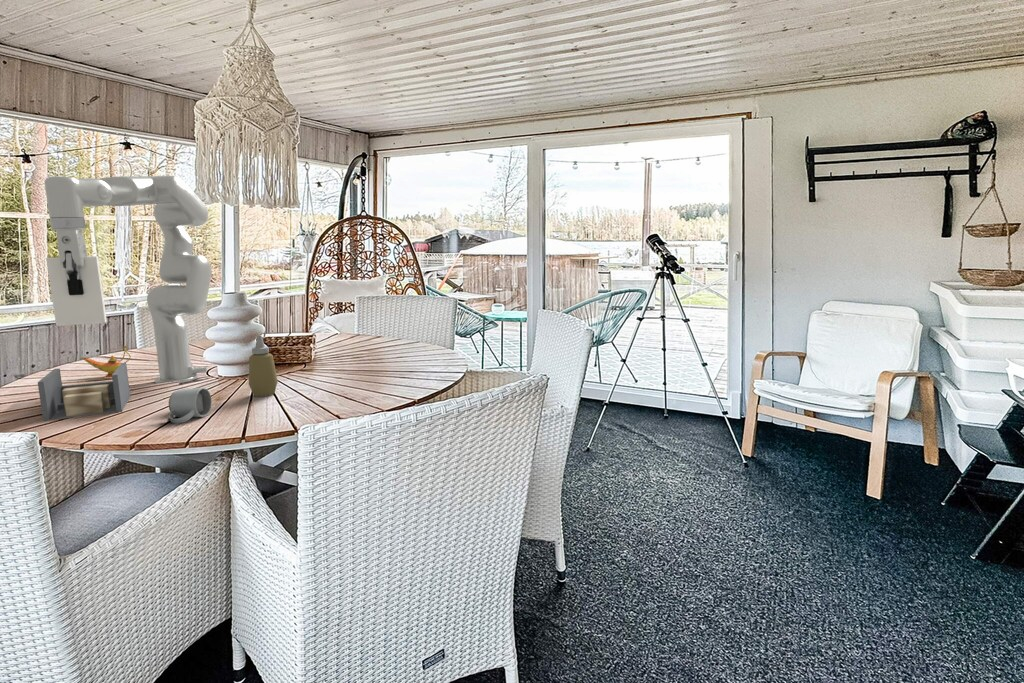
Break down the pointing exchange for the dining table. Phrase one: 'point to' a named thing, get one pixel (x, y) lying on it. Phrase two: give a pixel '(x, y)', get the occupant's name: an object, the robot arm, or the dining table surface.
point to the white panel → (77, 306)
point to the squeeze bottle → (262, 370)
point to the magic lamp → (108, 366)
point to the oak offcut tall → (90, 389)
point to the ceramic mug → (189, 404)
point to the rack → (53, 386)
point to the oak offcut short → (84, 403)
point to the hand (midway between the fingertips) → (77, 293)
